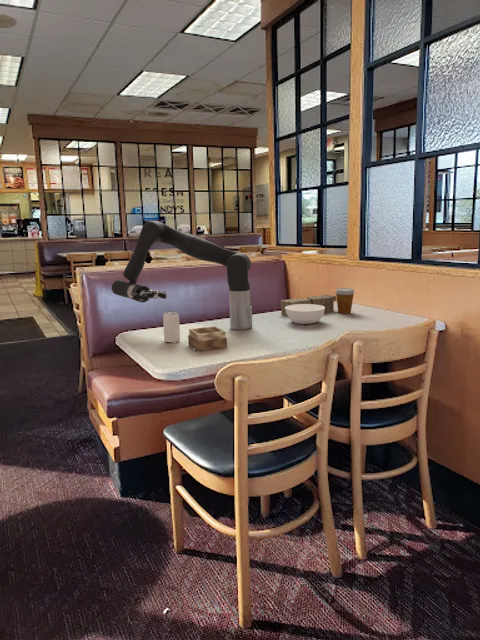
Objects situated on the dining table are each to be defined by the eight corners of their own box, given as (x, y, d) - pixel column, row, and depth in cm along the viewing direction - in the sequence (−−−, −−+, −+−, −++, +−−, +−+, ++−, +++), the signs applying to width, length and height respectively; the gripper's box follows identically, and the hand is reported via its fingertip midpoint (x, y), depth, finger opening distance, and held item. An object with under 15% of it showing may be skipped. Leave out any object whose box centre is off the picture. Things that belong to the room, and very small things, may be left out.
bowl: (323, 318, 236) (323, 303, 234) (326, 326, 218) (326, 310, 216) (285, 318, 238) (285, 304, 236) (285, 326, 220) (284, 311, 218)
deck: (217, 341, 196) (216, 331, 195) (227, 347, 186) (226, 337, 185) (188, 345, 192) (188, 335, 191) (197, 351, 182) (196, 341, 181)
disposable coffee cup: (356, 311, 249) (357, 288, 247) (350, 315, 241) (350, 291, 239) (338, 310, 254) (339, 287, 252) (332, 313, 246) (332, 290, 244)
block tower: (289, 319, 241) (336, 310, 254) (289, 302, 239) (336, 295, 252) (281, 316, 248) (327, 308, 261) (280, 300, 246) (327, 293, 259)
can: (162, 340, 201) (161, 311, 198) (178, 338, 203) (176, 310, 200) (166, 343, 195) (164, 314, 192) (182, 342, 197) (180, 313, 195)
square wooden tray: (215, 332, 195) (215, 326, 195) (225, 338, 185) (225, 331, 185) (189, 335, 191) (189, 329, 191) (197, 341, 181) (197, 334, 181)
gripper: (123, 286, 212) (140, 290, 199) (152, 283, 220) (170, 286, 208) (124, 303, 213) (141, 308, 201) (153, 299, 222) (171, 304, 209)
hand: (156, 297), depth 204 cm, fingers open, 8 cm apart
